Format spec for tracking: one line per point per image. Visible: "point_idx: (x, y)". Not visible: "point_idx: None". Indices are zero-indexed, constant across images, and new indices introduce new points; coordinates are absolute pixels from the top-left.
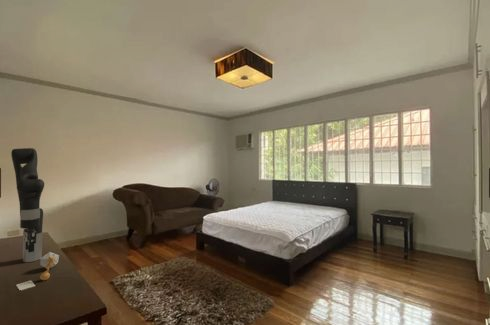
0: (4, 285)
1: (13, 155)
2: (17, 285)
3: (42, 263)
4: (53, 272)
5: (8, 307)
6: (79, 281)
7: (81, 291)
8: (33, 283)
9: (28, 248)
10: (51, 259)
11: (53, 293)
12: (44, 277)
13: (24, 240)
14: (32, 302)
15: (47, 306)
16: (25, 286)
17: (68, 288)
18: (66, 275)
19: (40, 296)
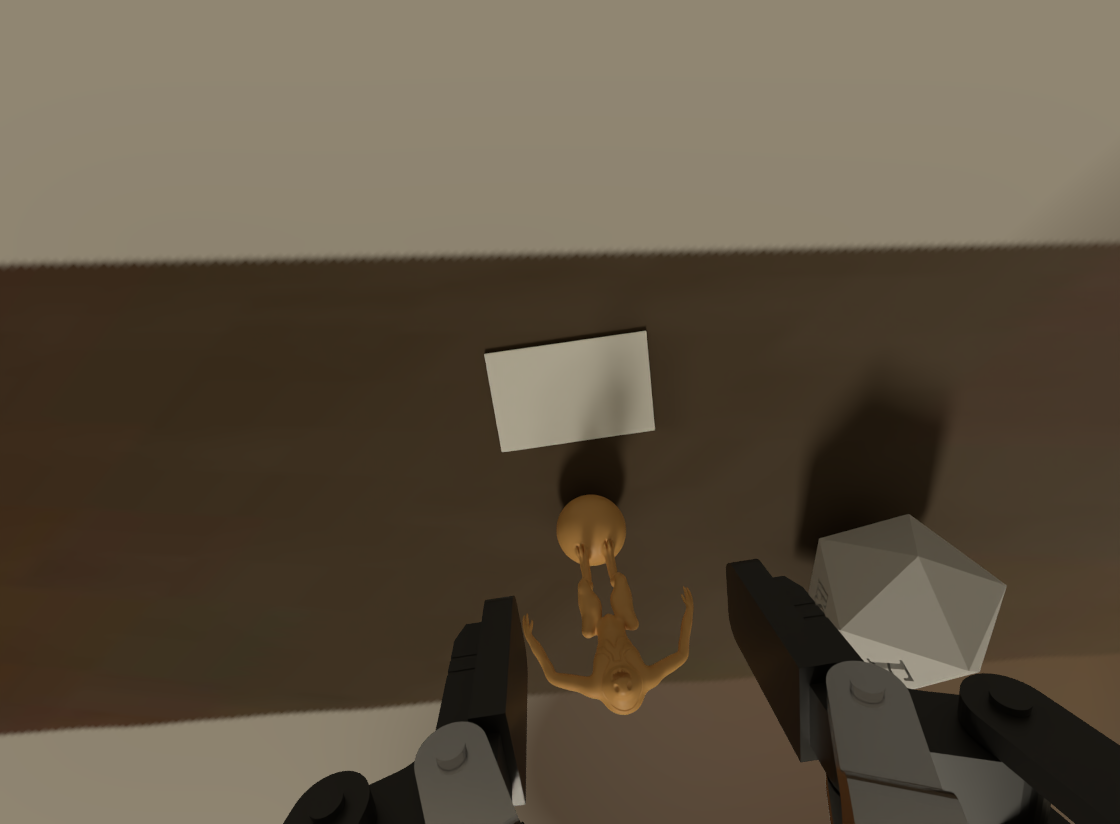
0: (719, 250)
1: None
2: (617, 339)
3: (858, 546)
4: (716, 571)
5: (183, 284)
6: (362, 693)
7: (160, 684)
8: (564, 442)
9: (477, 652)
10: (593, 679)
11: (248, 545)
12: (558, 525)
13: (978, 677)
14: (170, 425)
15: (31, 501)
16: (541, 391)
17: (276, 627)
18: (562, 638)
19: (251, 472)
